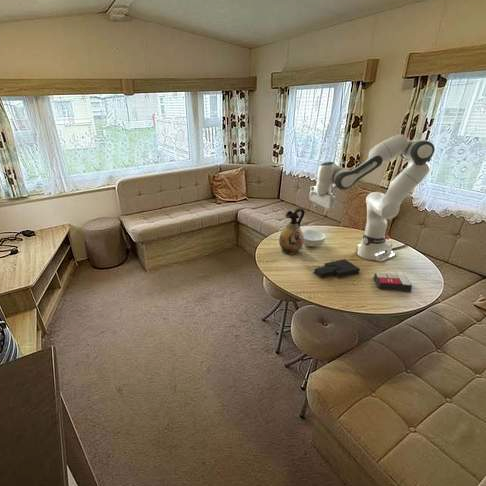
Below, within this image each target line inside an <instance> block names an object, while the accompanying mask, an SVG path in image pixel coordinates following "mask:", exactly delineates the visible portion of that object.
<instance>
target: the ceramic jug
mask: <svg viewBox="0 0 486 486" xmlns="http://www.w3.org/2000/svg"><path fill="white" fill-rule="evenodd" d="M299 212H300V215H299V214H298V213H299ZM304 216H305V210H304V209H303V207H302V208H301V207H298V208H296V209H295V210H294V212H292V211H291V210H289V211H287V212H286V213H285V218H287V219H290V221H289V222H288V223H287V225H286V226H285V227H284V228H283V229H282V231H281V232H280V234H279V239H278V244H279V246H280V248H281V249H282V252H283V253H285V254H287V255H295V254H297V253H298V251H299V250H301V249H302V247H303V245H304V244H303V243H304V236H303V233H302V229H301V223H302V221H303V219H304Z"/></svg>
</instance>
